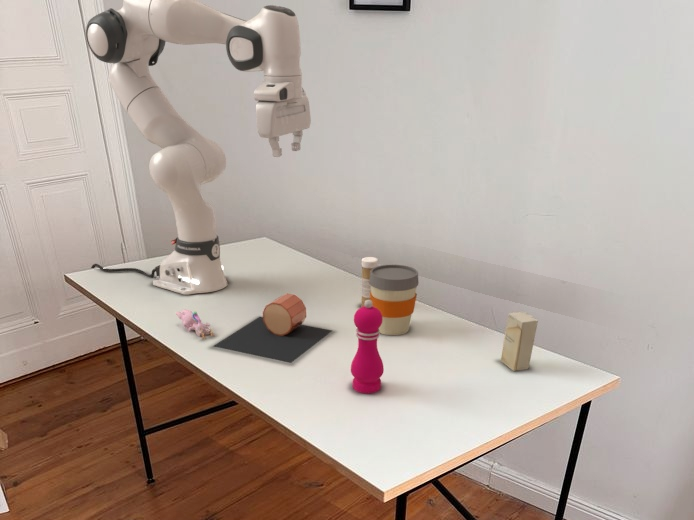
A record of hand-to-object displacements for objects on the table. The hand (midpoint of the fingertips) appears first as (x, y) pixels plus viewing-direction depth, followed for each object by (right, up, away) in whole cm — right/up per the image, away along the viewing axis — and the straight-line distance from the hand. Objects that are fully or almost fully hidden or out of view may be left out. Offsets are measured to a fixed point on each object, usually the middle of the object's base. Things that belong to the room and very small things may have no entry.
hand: (287, 153), depth 169 cm
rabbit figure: (-25, -42, +9) cm, 50 cm away
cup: (-1, -42, +8) cm, 43 cm away
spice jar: (+21, -32, +24) cm, 45 cm away
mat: (-4, -45, +4) cm, 45 cm away
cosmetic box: (+55, -54, -7) cm, 77 cm away
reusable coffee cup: (+27, -41, +11) cm, 50 cm away
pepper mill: (+20, -60, -17) cm, 66 cm away
